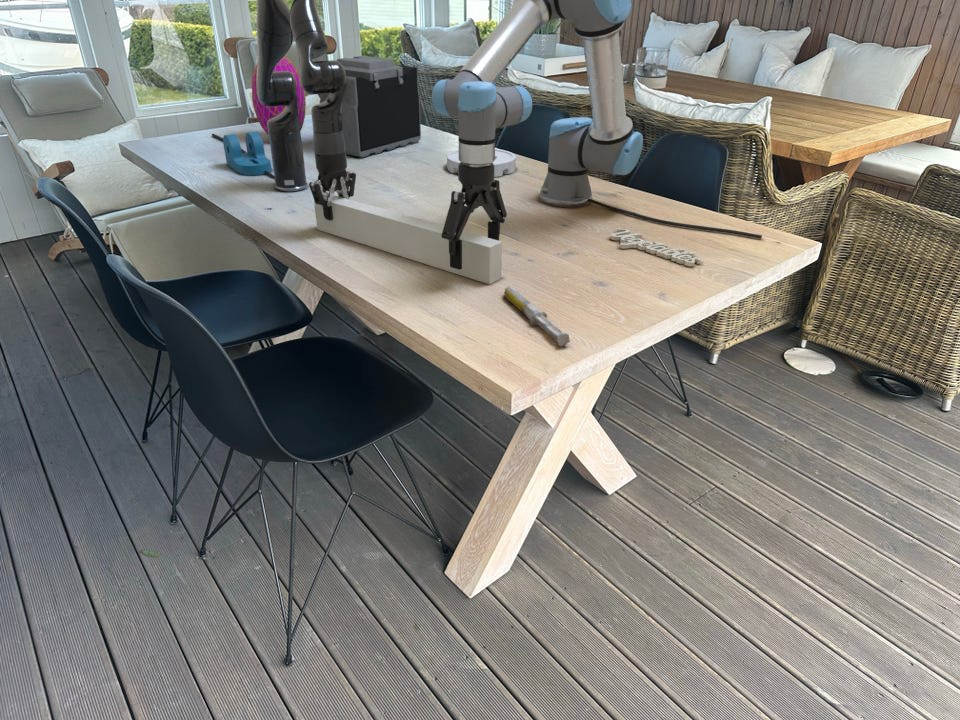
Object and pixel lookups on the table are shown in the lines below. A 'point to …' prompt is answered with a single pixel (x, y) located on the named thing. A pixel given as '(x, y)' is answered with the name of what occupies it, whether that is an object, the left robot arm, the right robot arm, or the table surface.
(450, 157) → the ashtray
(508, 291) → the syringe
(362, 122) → the electronic device
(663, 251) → the decorative sign
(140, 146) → the table surface
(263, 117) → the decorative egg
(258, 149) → the camera mount
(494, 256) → the bar
